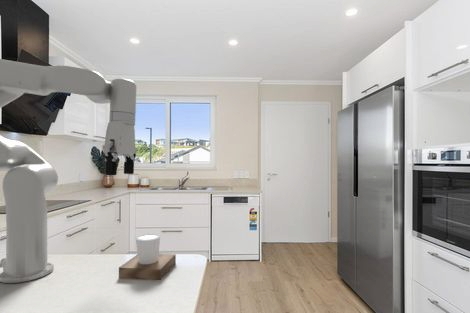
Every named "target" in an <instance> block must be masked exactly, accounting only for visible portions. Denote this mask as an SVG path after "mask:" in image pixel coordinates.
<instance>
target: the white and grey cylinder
mask: <svg viewBox="0 0 470 313" xmlns="http://www.w3.org/2000/svg"><path fill="white" fill-rule="evenodd" d="M135 242H136V243H135V244H136V252H137V253H136V255H138V263H139V264H152V263H155V262H157V261H158V256H159V254H160V244H161V243H160V242H161V235H160V234H157V233H156V234H155V233H152V234H149V233H148V234H141V235H139V236H136V238H135Z"/></svg>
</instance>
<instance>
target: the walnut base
mask: <svg viewBox="0 0 470 313" xmlns="http://www.w3.org/2000/svg"><path fill="white" fill-rule="evenodd" d="M176 256H177V255H176V254H175V253H172V254H171V253H159V256H158V261H157V262H155V263H152V264H139V263H138V255H137V254H136V255H135V256H133V257H132V258H130V259H129V260H127V261H126V262H124V263H123V264H122V265H120V266H119V267H118V279H121V280H137V281H138V280H140V281H141V280H142V281H162V280H163V279H164V277H165V276H166V275H168V273H169V272H170V271H171V270H172V269H173V267H175V265H176V264H177V263H176V262H177V261H176ZM171 268H172V269H171ZM170 269H171V270H170ZM169 270H170V271H169Z"/></svg>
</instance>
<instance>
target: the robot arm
mask: <svg viewBox="0 0 470 313" xmlns="http://www.w3.org/2000/svg"><path fill="white" fill-rule="evenodd" d="M52 93H65V94H75V95H80V96H85V97H86V98H87V99H88V100H90V101H91V102H93V103H94V104H98V105H99V104H101V105H103V104H105V105H106V104H109V115H108V116H109V119H108V123H107V126H106V131H105V138H104V139H105V140H104V143H103V145H102V147H101V148H102V151H103V156H104V161H105V175H106V176H117V172H118V171H117V170H118V161H116V160H117V159H118V157H119V156H123V158H124V161H123V174H124V175H133V174H134V171H135V170H134V169H135V161H136V159H135V158H136V157H137V153H138V152H137V151H138V148H136V133H135V132H136V130H135V126H136V111H137V108H136V107H137V84H136V82H134V81H133V80H131V79H127V78H118V77H117V78H115V79H114V78H113V79H112V80H111V81H108V80H106V79H105V77H104V76H103V75H102V74H100V73H99V72H97V71H94V70H92V69H87V68H80V67H77V66H72V65H71V66H69V65H47V66H46V65H38V64H31V63H28V62H20V61H14V60H8V59H1V58H0V109H1V108H3V107H5V106H7V105H8V104H9V103H11V102H13V101H15V100H17V99H18V98H20V97H21V96H23V95H24V94H30V95H31V94H32V95H37V96H43V97H44V96H49V95H51V94H52ZM6 171H7V172H6ZM0 172H6V173H5V175H4V177H3V179H2V192H3V197H4V202H5V223H6V224H5V226H6V227H5V228H6V230H5V233H6V234H5V235H6V236H5V238H6V239H5V241H6V242H5V244H6V245H5V254H6V255H5V257H3V258H1V259H0V268H2V272H1V273H0V283H4V284H17V283H18V284H20V283H23V282H29V281H34V280H37V279H40V278H43V277H44V276H47V275H49V274H51V273H52V272H53V271H54V267H55V266H54V264H53V263H52V262H48V203H47V200H46V195H45V194H47V193H49V192H51V191H52V190H54V189H55V188H56V186H57V185H58V182H59V176H58V173H57V171H56V170H55V169H54V167H53V166H52V165H51V164H49V162H47V160H45V159H44V158H43V157H42V156H41V155H40V154H38V153H37V152H36V151H35V150H34V149H32V148H31V147H30V146H29V145H27V144H25V143H24V142H22V141H20V140H15V139H9V138H6V137H4V136H2V135H0Z"/></svg>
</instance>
